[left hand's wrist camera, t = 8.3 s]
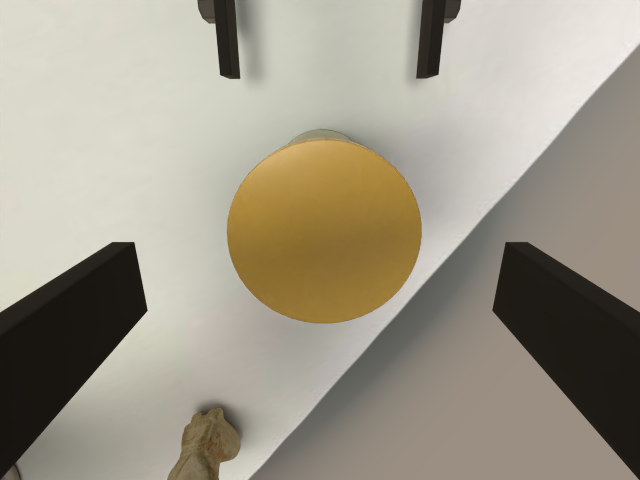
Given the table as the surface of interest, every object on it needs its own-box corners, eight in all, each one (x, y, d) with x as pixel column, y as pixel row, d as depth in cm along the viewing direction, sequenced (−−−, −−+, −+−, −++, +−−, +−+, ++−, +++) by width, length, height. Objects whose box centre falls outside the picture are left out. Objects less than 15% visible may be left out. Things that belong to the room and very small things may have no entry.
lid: (428, 281, 19) (438, 297, 18) (270, 324, 20) (266, 342, 19) (390, 111, 16) (398, 111, 15) (206, 170, 17) (194, 176, 16)
